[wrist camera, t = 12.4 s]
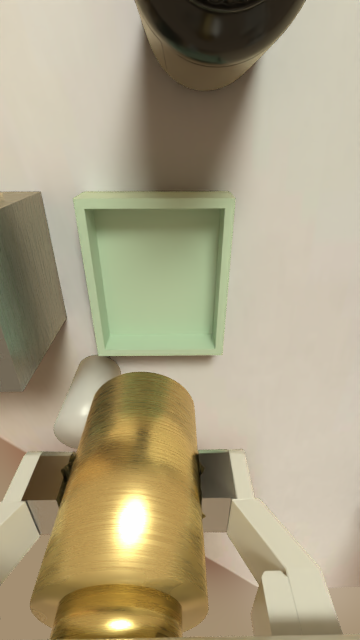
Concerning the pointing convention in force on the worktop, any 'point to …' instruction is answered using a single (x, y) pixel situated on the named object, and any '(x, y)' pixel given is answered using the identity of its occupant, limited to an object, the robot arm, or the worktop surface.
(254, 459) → the worktop surface
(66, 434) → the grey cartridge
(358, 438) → the worktop surface
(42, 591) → the brass fitting
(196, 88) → the supplement bottle
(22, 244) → the box
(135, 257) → the tray
